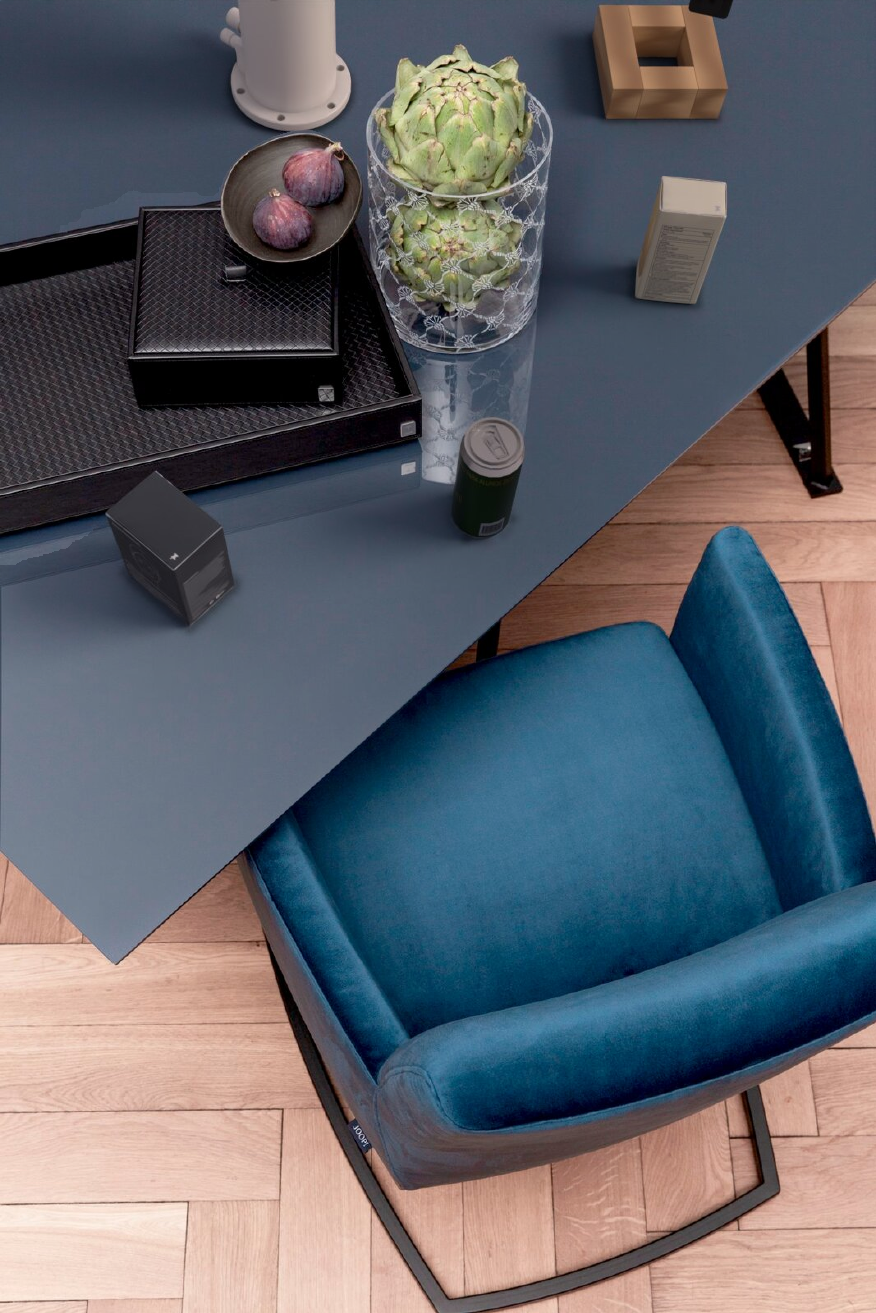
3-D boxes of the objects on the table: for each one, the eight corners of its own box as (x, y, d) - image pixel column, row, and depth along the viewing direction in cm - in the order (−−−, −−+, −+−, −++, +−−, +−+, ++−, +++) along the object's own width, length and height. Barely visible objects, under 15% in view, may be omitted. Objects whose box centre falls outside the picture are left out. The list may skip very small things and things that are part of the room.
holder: (605, 119, 130) (613, 88, 126) (592, 36, 134) (598, 4, 131) (717, 119, 131) (728, 88, 127) (700, 37, 135) (709, 5, 132)
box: (236, 585, 105) (224, 525, 96) (189, 628, 103) (172, 572, 94) (172, 531, 107) (154, 467, 97) (125, 573, 105) (102, 512, 95)
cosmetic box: (696, 272, 122) (730, 181, 111) (695, 306, 120) (730, 218, 109) (633, 264, 122) (661, 172, 111) (631, 298, 120) (660, 209, 109)
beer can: (520, 526, 109) (538, 454, 98) (469, 551, 108) (482, 480, 97) (490, 481, 111) (505, 405, 100) (439, 504, 110) (449, 430, 99)
